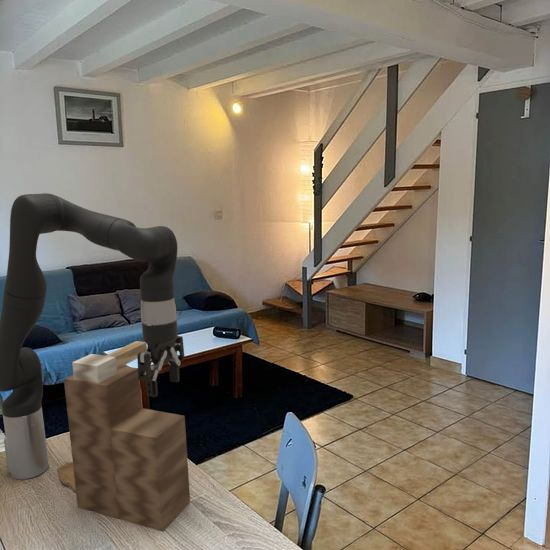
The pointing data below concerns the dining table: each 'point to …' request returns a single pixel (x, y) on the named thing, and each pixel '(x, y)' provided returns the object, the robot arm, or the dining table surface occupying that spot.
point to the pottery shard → (67, 475)
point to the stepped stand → (126, 452)
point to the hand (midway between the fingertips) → (164, 388)
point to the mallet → (106, 363)
